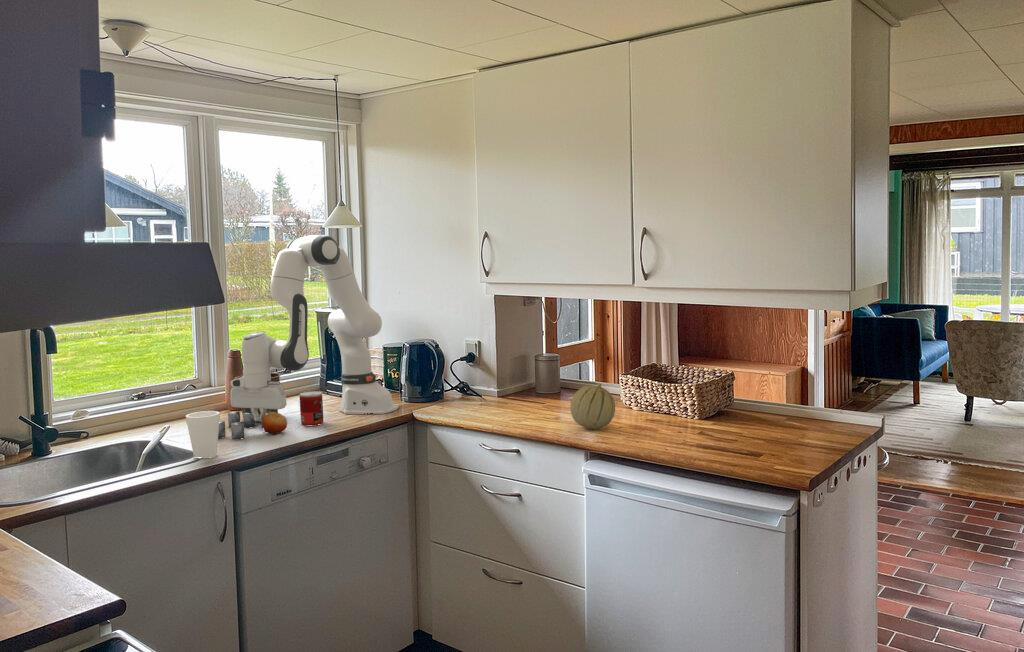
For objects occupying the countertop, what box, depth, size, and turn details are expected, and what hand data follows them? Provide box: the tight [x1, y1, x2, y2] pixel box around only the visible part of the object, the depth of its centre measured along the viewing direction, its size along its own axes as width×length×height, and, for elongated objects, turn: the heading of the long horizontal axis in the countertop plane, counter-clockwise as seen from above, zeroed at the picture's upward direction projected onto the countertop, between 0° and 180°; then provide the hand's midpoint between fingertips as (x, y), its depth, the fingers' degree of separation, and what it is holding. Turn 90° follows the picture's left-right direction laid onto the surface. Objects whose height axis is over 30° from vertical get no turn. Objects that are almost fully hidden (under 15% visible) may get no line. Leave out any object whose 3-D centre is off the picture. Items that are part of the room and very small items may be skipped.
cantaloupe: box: [569, 382, 616, 430], centre depth 257 cm, size 15×15×15 cm
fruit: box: [262, 412, 288, 435], centre depth 265 cm, size 8×8×8 cm
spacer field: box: [218, 410, 271, 440], centre depth 268 cm, size 17×20×5 cm
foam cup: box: [185, 410, 221, 459], centre depth 236 cm, size 10×9×13 cm
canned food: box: [299, 391, 324, 426], centre depth 277 cm, size 8×8×11 cm
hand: (259, 420), depth 265 cm, fingers closed
